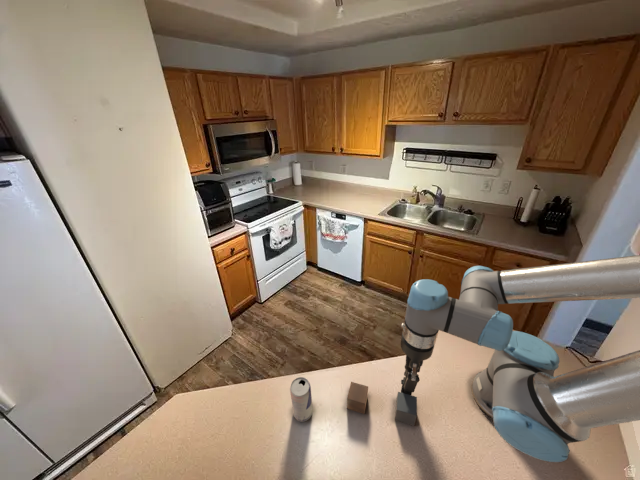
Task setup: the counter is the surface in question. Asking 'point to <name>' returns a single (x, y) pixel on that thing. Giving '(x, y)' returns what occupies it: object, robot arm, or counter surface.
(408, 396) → the grey block
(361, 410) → the walnut block
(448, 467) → the counter surface
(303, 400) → the energy drink
